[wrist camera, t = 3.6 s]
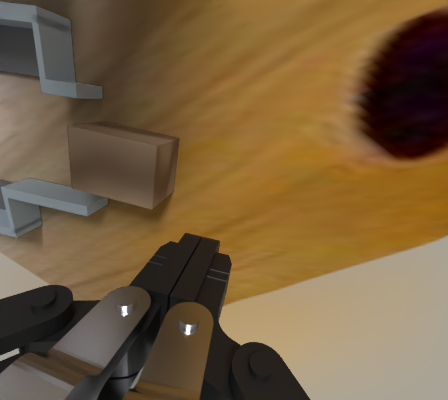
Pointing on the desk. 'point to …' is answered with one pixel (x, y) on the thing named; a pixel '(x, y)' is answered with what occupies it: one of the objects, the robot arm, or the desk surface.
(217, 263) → the robot arm
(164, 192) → the walnut block
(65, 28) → the trap channel
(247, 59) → the desk surface
